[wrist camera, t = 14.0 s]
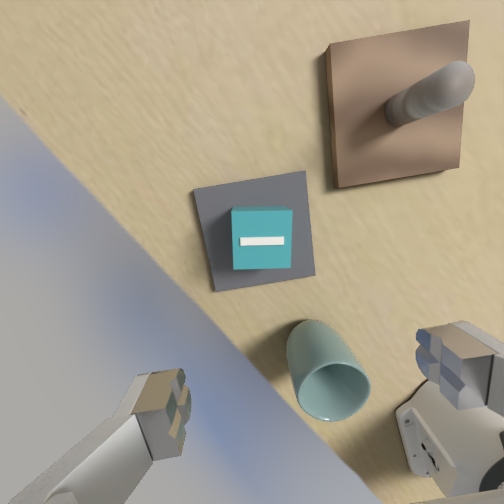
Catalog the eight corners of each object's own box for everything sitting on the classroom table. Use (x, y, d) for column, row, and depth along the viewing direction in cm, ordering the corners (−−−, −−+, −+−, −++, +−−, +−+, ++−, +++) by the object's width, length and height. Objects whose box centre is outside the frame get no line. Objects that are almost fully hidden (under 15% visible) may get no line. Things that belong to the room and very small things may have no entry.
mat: (313, 272, 32) (315, 275, 31) (216, 288, 32) (215, 292, 31) (303, 170, 29) (305, 170, 28) (194, 189, 29) (193, 189, 28)
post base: (448, 168, 29) (528, 162, 21) (333, 187, 29) (369, 189, 21) (456, 29, 25) (558, -44, 17) (325, 51, 25) (364, -11, 17)
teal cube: (283, 205, 29) (293, 210, 24) (282, 254, 30) (291, 268, 25) (233, 206, 28) (231, 211, 23) (234, 255, 30) (233, 270, 25)
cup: (313, 366, 36) (339, 432, 27) (271, 343, 35) (282, 403, 25) (346, 328, 35) (386, 383, 25) (303, 301, 33) (328, 349, 24)
